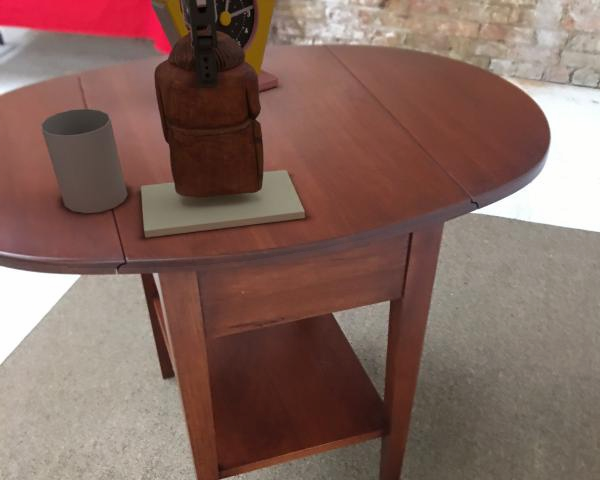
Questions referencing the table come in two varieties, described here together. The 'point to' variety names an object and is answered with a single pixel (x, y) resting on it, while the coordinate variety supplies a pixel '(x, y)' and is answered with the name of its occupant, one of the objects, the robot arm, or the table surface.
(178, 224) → the mat
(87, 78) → the table surface
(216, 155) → the wooden figurine
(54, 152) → the cup
